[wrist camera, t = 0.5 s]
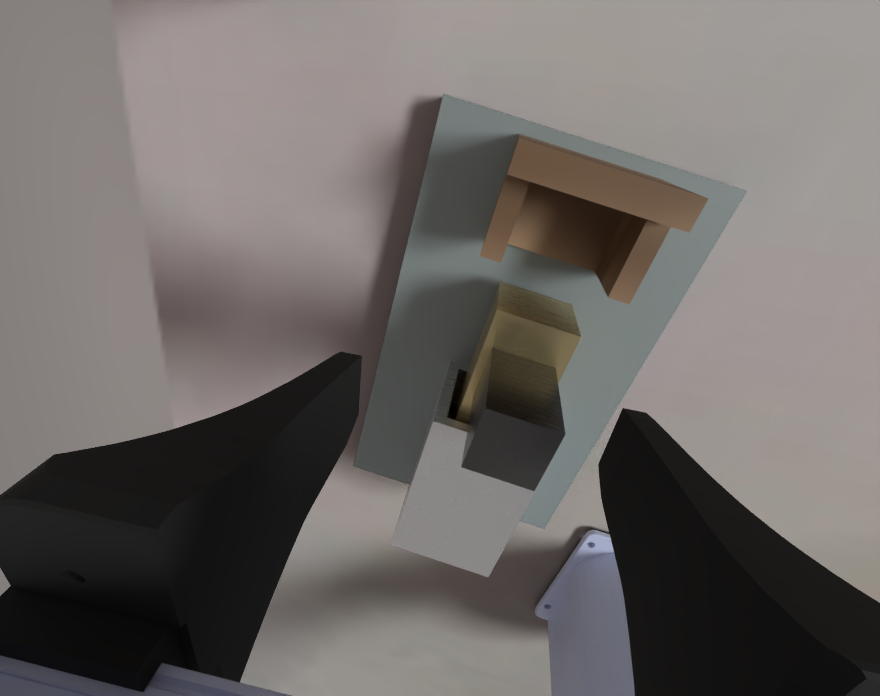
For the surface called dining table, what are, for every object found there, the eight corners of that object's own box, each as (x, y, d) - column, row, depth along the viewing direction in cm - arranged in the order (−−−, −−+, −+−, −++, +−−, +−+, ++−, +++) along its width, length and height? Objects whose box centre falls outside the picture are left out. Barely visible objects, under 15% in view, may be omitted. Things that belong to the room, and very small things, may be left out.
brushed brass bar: (483, 494, 24) (470, 625, 18) (428, 476, 24) (396, 600, 18) (572, 304, 19) (598, 398, 12) (500, 281, 19) (490, 363, 12)
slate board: (543, 509, 27) (544, 529, 26) (361, 449, 28) (353, 465, 26) (730, 185, 18) (747, 190, 16) (449, 95, 18) (443, 93, 17)
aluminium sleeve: (493, 499, 26) (488, 577, 21) (412, 472, 26) (390, 544, 21) (546, 392, 22) (552, 460, 17) (450, 360, 22) (433, 421, 17)
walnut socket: (611, 274, 19) (639, 321, 14) (486, 233, 19) (476, 268, 14) (659, 178, 17) (708, 198, 12) (519, 133, 17) (519, 137, 12)
